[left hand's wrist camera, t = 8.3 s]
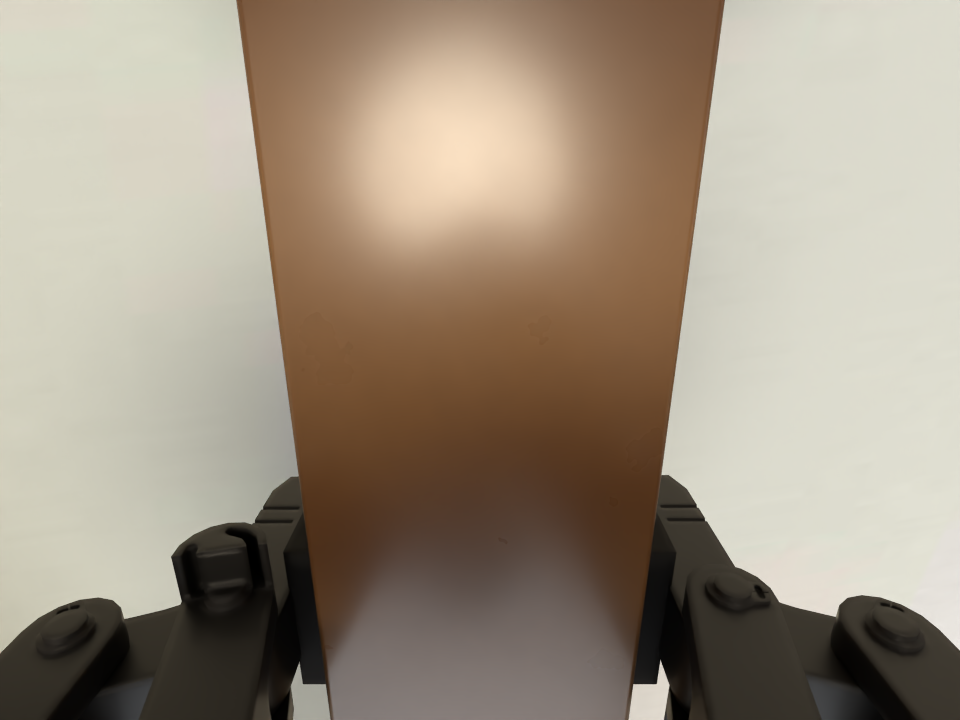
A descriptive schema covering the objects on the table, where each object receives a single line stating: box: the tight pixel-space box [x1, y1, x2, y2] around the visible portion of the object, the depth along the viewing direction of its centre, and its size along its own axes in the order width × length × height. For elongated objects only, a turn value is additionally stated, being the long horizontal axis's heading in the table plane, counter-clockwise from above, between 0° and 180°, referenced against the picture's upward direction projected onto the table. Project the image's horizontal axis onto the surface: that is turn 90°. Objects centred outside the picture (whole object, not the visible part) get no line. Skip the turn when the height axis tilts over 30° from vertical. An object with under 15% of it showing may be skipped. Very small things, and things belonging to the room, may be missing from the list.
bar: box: [236, 0, 725, 720], centre depth 9 cm, size 23×4×8 cm, turn 0°
